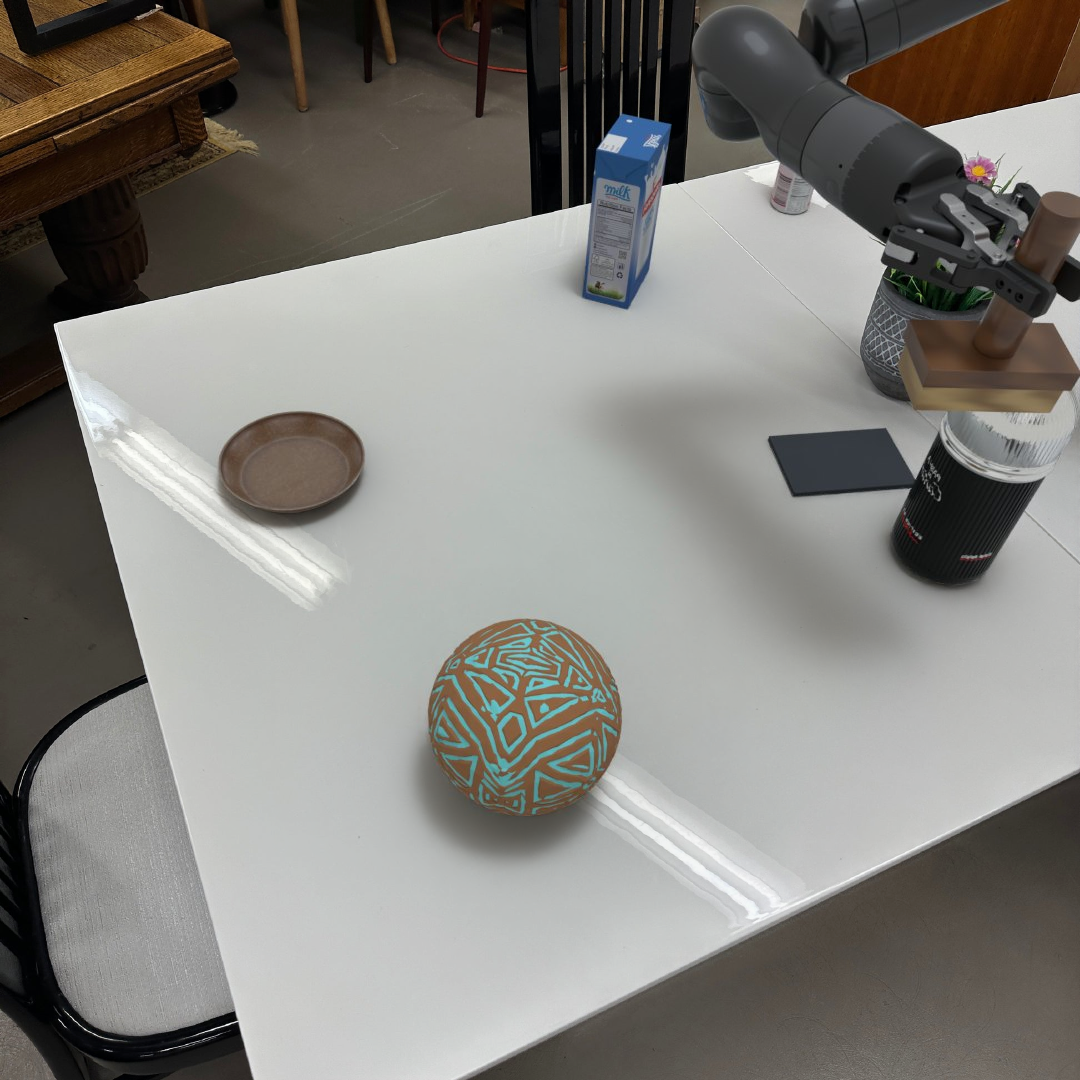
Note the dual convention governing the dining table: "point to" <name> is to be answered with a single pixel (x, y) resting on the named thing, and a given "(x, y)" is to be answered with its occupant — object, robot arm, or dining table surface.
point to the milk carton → (624, 209)
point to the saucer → (291, 461)
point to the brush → (999, 337)
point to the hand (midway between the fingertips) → (1066, 296)
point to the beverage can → (790, 192)
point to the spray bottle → (978, 487)
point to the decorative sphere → (524, 717)
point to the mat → (841, 462)
